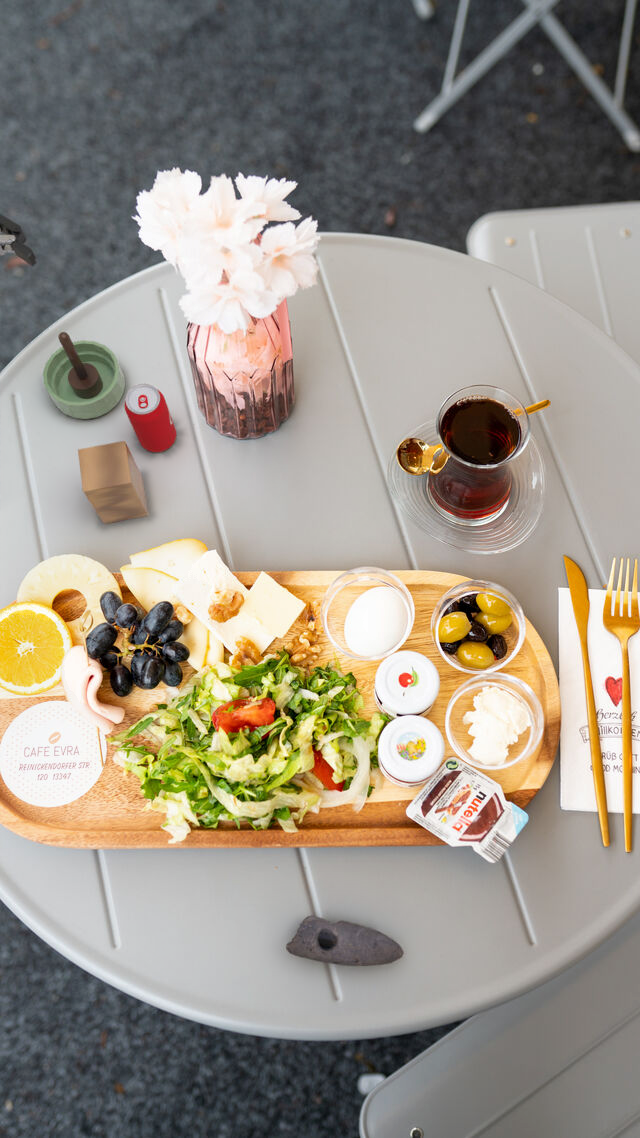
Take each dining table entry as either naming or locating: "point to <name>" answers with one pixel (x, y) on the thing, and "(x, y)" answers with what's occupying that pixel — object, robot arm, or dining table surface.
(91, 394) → the brown handled round part
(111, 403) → the bowl
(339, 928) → the perforated stone tool
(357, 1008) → the dining table surface
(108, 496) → the wooden square block
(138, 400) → the beverage can
